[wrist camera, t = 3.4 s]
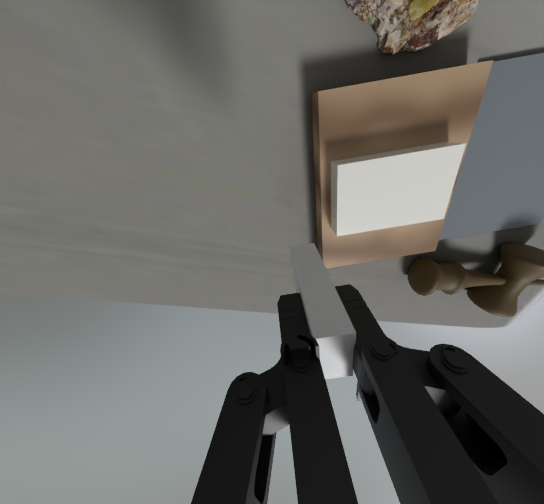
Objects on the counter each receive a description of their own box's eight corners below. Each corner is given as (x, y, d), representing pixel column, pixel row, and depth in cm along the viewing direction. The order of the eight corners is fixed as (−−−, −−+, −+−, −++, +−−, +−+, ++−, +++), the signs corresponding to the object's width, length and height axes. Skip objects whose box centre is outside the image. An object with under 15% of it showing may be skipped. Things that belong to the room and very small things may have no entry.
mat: (478, 64, 19) (482, 63, 19) (639, 35, 19) (646, 34, 18) (429, 239, 28) (431, 241, 28) (536, 222, 28) (539, 223, 28)
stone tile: (330, 161, 20) (337, 165, 18) (448, 141, 20) (466, 143, 18) (330, 228, 24) (336, 236, 22) (430, 211, 24) (443, 219, 22)
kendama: (420, 233, 29) (553, 242, 30) (392, 287, 34) (506, 292, 35) (454, 259, 24) (611, 268, 25) (414, 317, 29) (546, 322, 30)
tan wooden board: (311, 94, 19) (318, 91, 17) (466, 66, 19) (493, 59, 17) (318, 257, 29) (323, 268, 27) (422, 241, 28) (435, 250, 26)
